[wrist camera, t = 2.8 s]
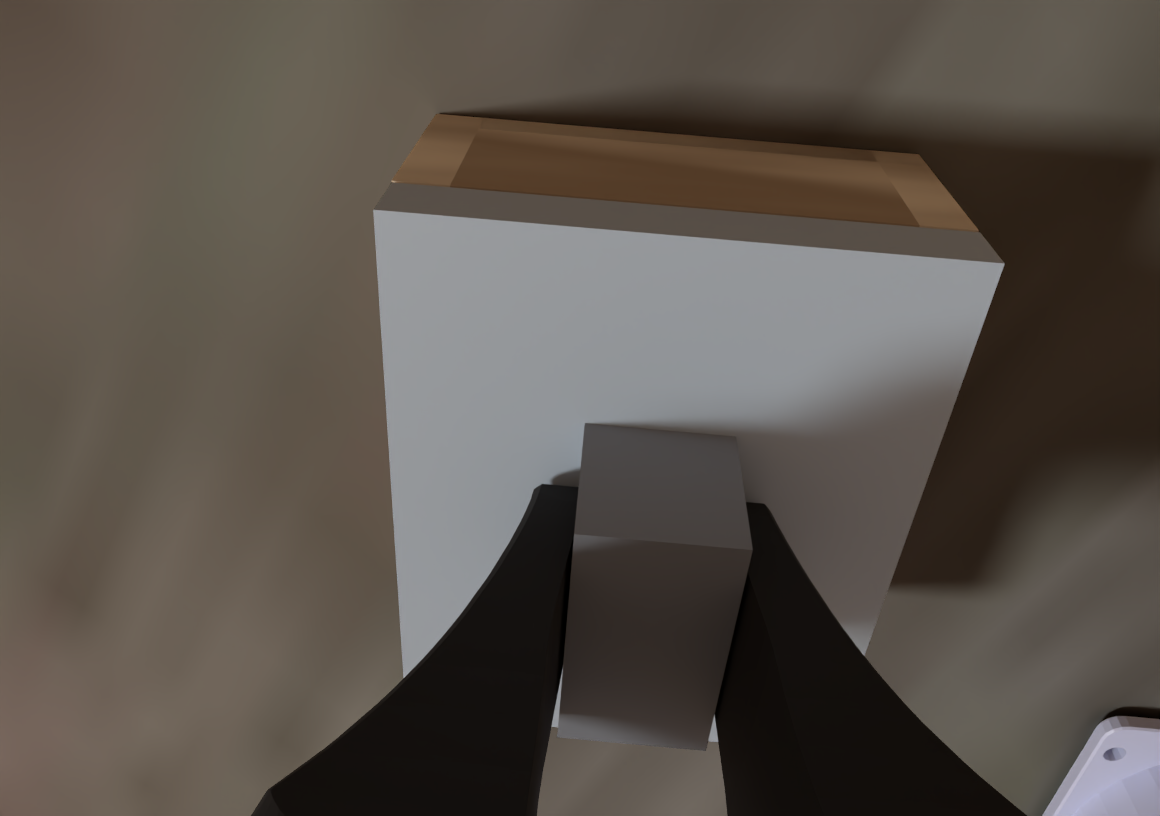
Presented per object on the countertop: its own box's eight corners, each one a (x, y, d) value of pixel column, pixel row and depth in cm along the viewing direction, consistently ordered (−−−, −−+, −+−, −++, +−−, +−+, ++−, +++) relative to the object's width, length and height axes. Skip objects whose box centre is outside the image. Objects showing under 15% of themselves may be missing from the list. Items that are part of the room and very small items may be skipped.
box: (797, 588, 20) (820, 705, 18) (446, 556, 21) (417, 668, 18) (919, 153, 15) (978, 230, 12) (436, 113, 15) (391, 180, 12)
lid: (820, 708, 18) (854, 878, 15) (416, 671, 18) (374, 833, 15) (980, 232, 12) (1082, 360, 9) (391, 182, 12) (316, 294, 9)
